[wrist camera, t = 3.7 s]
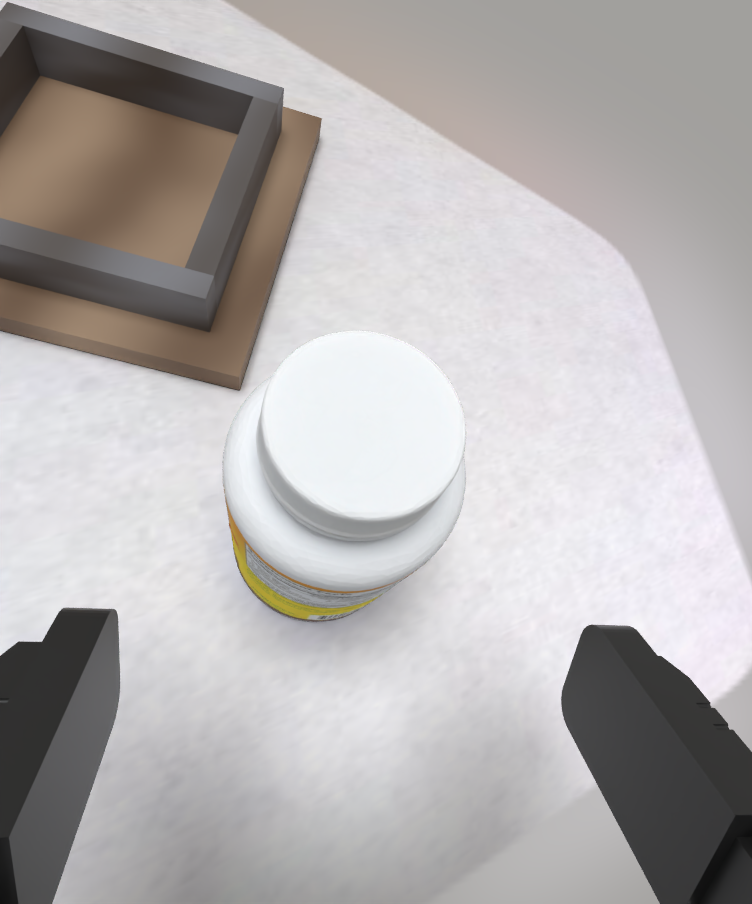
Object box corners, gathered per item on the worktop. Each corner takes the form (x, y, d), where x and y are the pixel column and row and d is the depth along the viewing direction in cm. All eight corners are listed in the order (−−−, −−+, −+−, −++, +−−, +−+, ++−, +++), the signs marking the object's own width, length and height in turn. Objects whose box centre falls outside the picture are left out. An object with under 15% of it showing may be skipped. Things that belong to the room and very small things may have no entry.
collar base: (-160, 290, 20) (-225, 227, 17) (12, 44, 26) (-16, -33, 23) (239, 390, 22) (237, 347, 19) (319, 137, 27) (326, 76, 25)
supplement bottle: (290, 439, 21) (320, 247, 12) (419, 518, 21) (550, 384, 12) (198, 569, 19) (146, 455, 10) (342, 658, 19) (431, 629, 10)
